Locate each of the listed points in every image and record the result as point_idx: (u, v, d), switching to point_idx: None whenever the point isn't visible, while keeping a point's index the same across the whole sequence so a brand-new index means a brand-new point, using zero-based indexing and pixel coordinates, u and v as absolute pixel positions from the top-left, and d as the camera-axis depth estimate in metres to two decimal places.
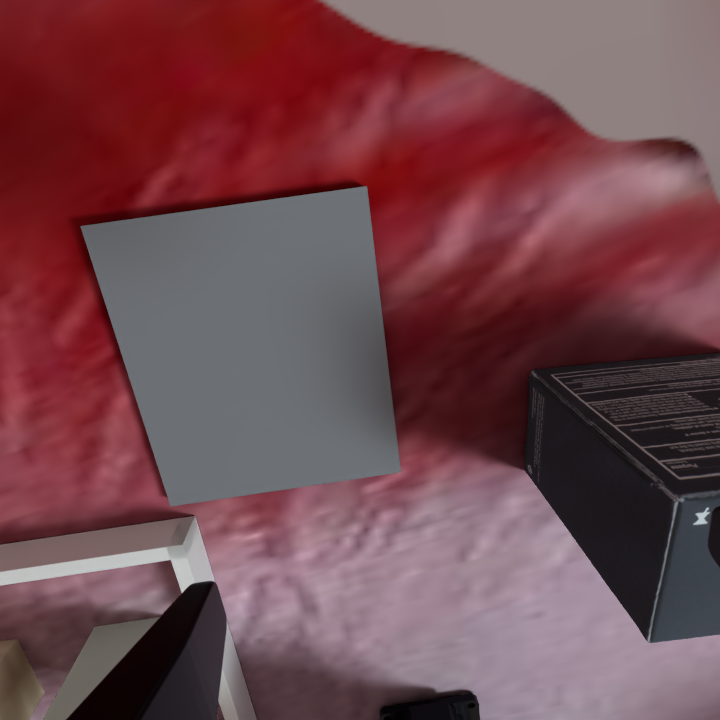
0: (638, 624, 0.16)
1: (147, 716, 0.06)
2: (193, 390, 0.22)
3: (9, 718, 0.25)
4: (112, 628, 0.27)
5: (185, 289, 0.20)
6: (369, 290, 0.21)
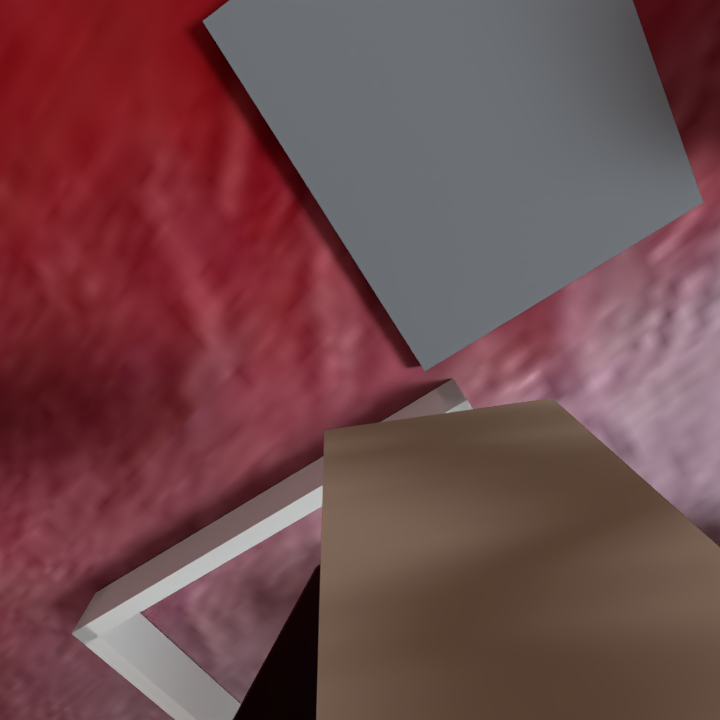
0: None
1: None
2: (405, 197, 0.16)
3: (529, 479, 0.07)
4: None
5: (353, 52, 0.15)
6: None
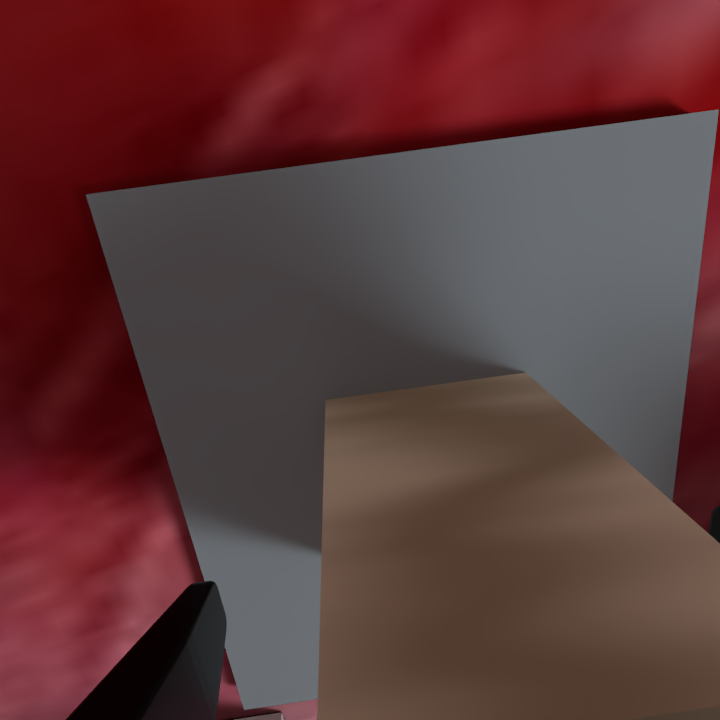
0: None
1: (147, 716, 0.06)
2: (302, 521, 0.11)
3: (498, 433, 0.08)
4: None
5: (304, 331, 0.10)
6: (673, 333, 0.10)
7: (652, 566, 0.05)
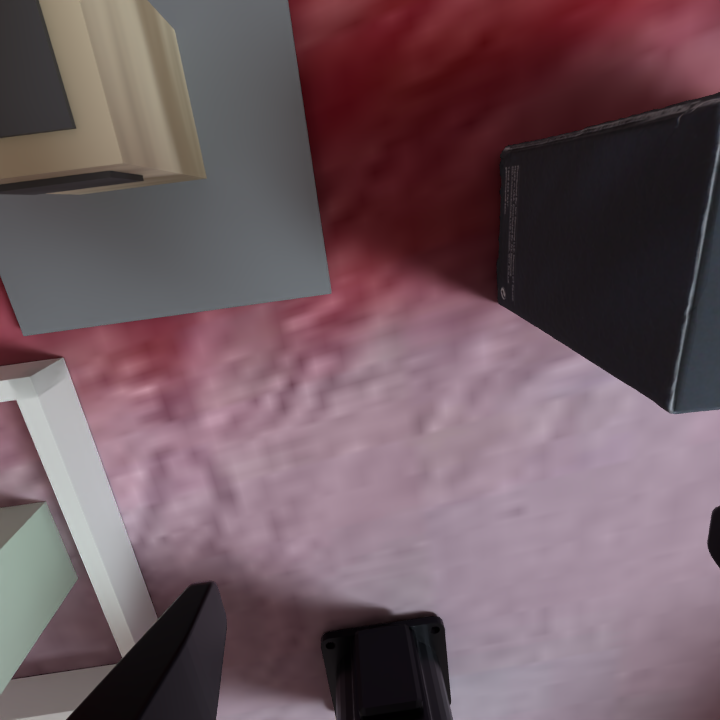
0: (653, 392, 0.10)
1: (147, 716, 0.06)
2: None
3: None
4: None
5: None
6: (273, 1, 0.15)
7: None
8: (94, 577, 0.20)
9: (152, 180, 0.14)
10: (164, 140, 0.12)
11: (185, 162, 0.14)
